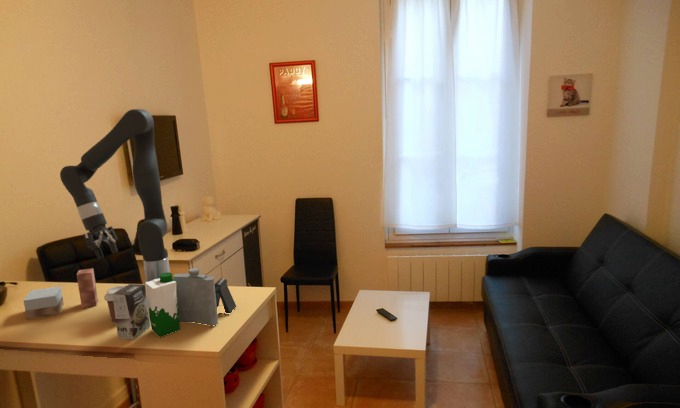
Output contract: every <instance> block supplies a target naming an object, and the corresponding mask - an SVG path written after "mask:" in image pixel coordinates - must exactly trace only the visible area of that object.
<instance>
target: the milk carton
mask: <svg viewBox="0 0 680 408" xmlns="http://www.w3.org/2000/svg"><path fill="white" fill-rule="evenodd" d="M144 285H145V288H146V296H147V304H148V312H149V320H150V327H151V331H152V330H153V331H154V332H155V333H156V334H157V335H158V336H159V337H160V338H162V337H161V336H163V337H165V336H164V335H166V336H168V335H167V334H169V335H171V334H173V333H172V332H174V333H176V332H175V331H177V332H179V331H178V330H180V331H181V325H180V324H181V322H179V312H178V303H177V293H176V281H175V280H174V278H173V273H172V272H170V273H163V274H161V275H160V278H159V279H154V280H152V281H149V282H146V281H145V282H144ZM153 331H152V332H153ZM154 332H153V333H154ZM170 333H171V334H170ZM156 334H155V335H156ZM157 335H156V336H157ZM158 336H157V337H158ZM159 337H158V338H159Z"/></svg>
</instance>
